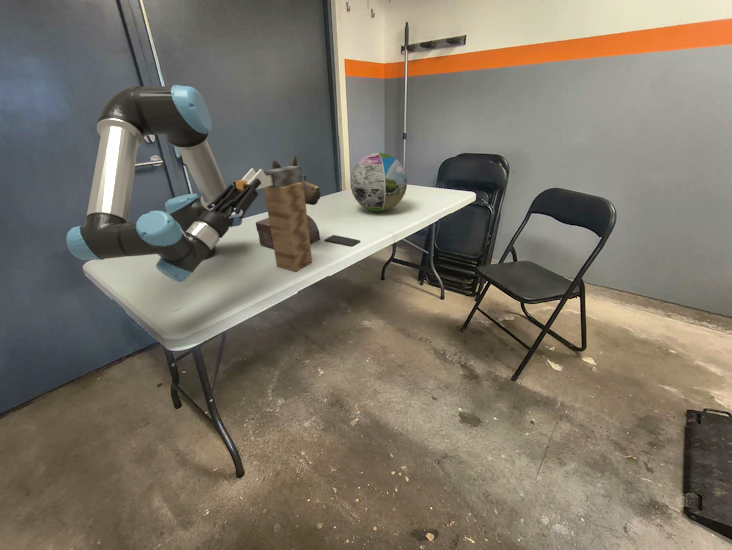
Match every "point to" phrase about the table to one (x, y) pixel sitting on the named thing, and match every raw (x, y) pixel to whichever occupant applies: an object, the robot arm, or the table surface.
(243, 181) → the orange-tipped white stick
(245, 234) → the table surface
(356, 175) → the photo panel ball
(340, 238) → the smartphone
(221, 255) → the table surface
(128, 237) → the robot arm
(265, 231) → the dog bust
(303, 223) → the pedestal
